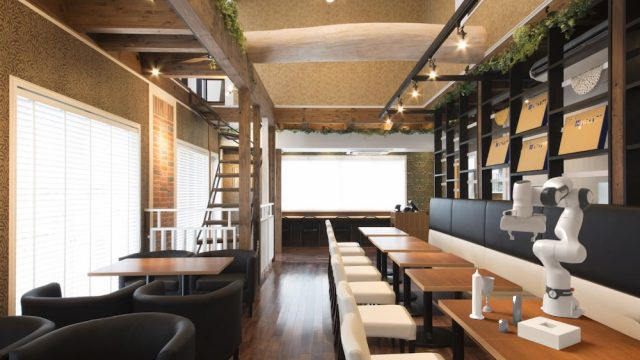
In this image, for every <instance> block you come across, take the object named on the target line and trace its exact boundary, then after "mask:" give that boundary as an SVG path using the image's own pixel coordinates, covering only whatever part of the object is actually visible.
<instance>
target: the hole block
mask: <svg viewBox="0 0 640 360" xmlns="http://www.w3.org/2000/svg"><path fill="white" fill-rule="evenodd" d="M581 333H582V332H581V327H579V326H576V325H572V324H568V323H565V322H562V321H557V320H555V319H550V318H548V317H545V316H540V315H539V316H536V317H533V318H529V319H526V320H522V322H518V326H517V337H519V338H522V339H526V340H528V341H531V342H534V343H537V344H540V345H543V346H545V347H549V348H551V349H554V350H557V351H560V350H563V349H565V348H567V347H570V346H573V345H576V344H578V343H581V338H582V337H581V336H582V335H581Z"/></svg>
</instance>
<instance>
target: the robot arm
mask: <svg viewBox="0 0 640 360" xmlns="http://www.w3.org/2000/svg"><path fill="white" fill-rule="evenodd" d="M512 188H513V190H512V200H513V205H512V209H507V210H505V211H503V212H502V215H503V216H501V219H500V223H499V224H500V226H499V229H501V230H502V231H507V233H508V235H509V236H510V237H509V239H510V241H511V240H515V236H514V235H512V232H513V231H514V232H527V233H533V235H534V236H533V237H531V238H530V239H531V240H530V242H534V243H533V245H532V252H533V254H534V255H535V257H537V258H538V260H540V261H541V263H542V264H543V267H544V269H545V273H546V274H545V275H546V285H545V294H543V301H542V306H540V310H542V312H544V314H547V315H549V316H553V317H554V316H555V317H559V318H572V319H579V318H580V317H581V316H583V315H584V314H585V310H583V309H580V301H579V300H578V299H577V298H576V297H575V296H574V295H573V293H574V292H575V291H576V289H575V287H572V286H571V284H572V282H571V280H572V279H571V274H570V272H569V270H567V269H566V268H564V267H563V266H562V265H561V263H567V264H581V263H583V262H584V261H585V260H586V258H587V249H586V248H585V246H584V245H582V243H580V242H579V239H578V236H579V233H580V230H581V228H582V223H583V220H584V219H583V218H584V212H583V211H587V210H588V209H589V207H591V205H592V204H593V203H594V193H593V192H592V190H591V189H589V188H586V187H581V188H580V187H574V182H573V181H572V179H571V178H569V177H567V176H557V177H552V178H550V179H547V180H546V181H545V182H544V183H543V186H541V187H539V186H538V187H537V186H536V187H535V186H533V184H532V181H531V180H527V179H523V180H517V181H515V182H514V183H513V187H512ZM534 207H546V208H551V209H552V208H564V210H563V211H562V213H561V215H560V216H559V219H558V221H557V223H556V225H555V228H554V234H555V236H556V237H557V238H558V239H559V240H555V239H537V240H536V237H538V233H540V234H545V232H546V231H547V230H546V229H547V228H546V227H547V226H546V222H547V216H546V214H543V213H538V212H537V213H534V212H533V210H534Z"/></svg>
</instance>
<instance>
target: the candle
mask: <svg viewBox="0 0 640 360" xmlns="http://www.w3.org/2000/svg"><path fill="white" fill-rule="evenodd" d="M482 277H483V276H482V275H481V274H480V273H479V269H478V268H476V271H475V273H473V274H472V283H471V284H472V288H471V289H472V292H471V293H472V294H471V295H472V298H471V299H472V300H471V302H472V305H471V307H472V309H471V310H472V311H471V313H470V314H469V317H470V318H471V319H474V320H484V319H485V316H484V315H483V314H482V313H483V311H482V310H483V299H482V298H483V297H482V296H483V294H482V293H483V290H482Z"/></svg>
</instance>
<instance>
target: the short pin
mask: <svg viewBox="0 0 640 360" xmlns="http://www.w3.org/2000/svg"><path fill="white" fill-rule="evenodd" d="M498 332H500V333H505V334H508V333H509V320H508V319H503V318H499V319H498Z"/></svg>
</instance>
